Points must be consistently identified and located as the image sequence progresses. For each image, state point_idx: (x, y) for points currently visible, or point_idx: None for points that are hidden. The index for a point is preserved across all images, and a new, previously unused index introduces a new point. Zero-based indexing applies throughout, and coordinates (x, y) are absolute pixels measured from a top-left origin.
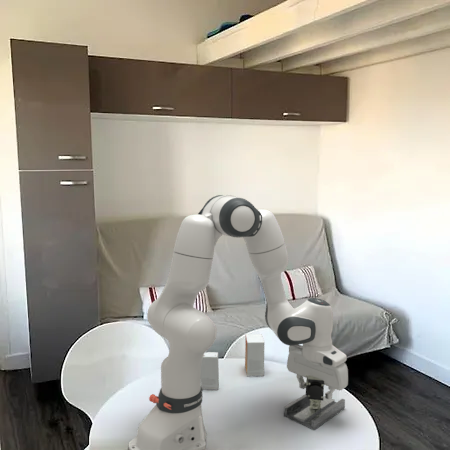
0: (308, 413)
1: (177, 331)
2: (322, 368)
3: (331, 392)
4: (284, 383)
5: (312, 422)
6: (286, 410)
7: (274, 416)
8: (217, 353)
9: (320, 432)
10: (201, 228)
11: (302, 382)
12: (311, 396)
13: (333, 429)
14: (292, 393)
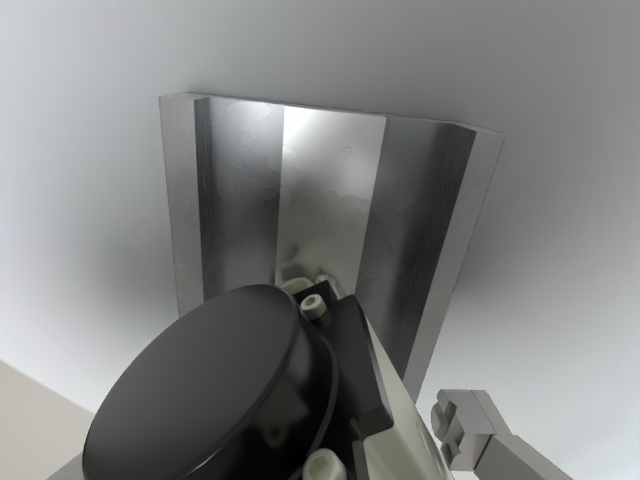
0: (309, 220)
1: None
2: None
3: (73, 468)
4: (572, 413)
5: (189, 96)
6: (469, 129)
7: (529, 70)
8: None
9: (135, 95)
10: None
11: (485, 453)
12: (256, 293)
13: (101, 192)
14: (504, 368)
